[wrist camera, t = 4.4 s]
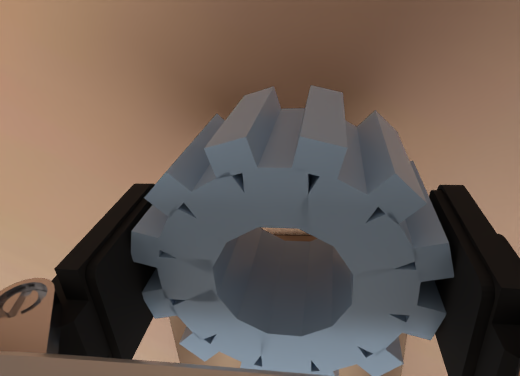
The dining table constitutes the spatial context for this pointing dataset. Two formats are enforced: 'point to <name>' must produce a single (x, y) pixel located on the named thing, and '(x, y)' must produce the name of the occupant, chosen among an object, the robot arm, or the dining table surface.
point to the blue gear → (295, 252)
